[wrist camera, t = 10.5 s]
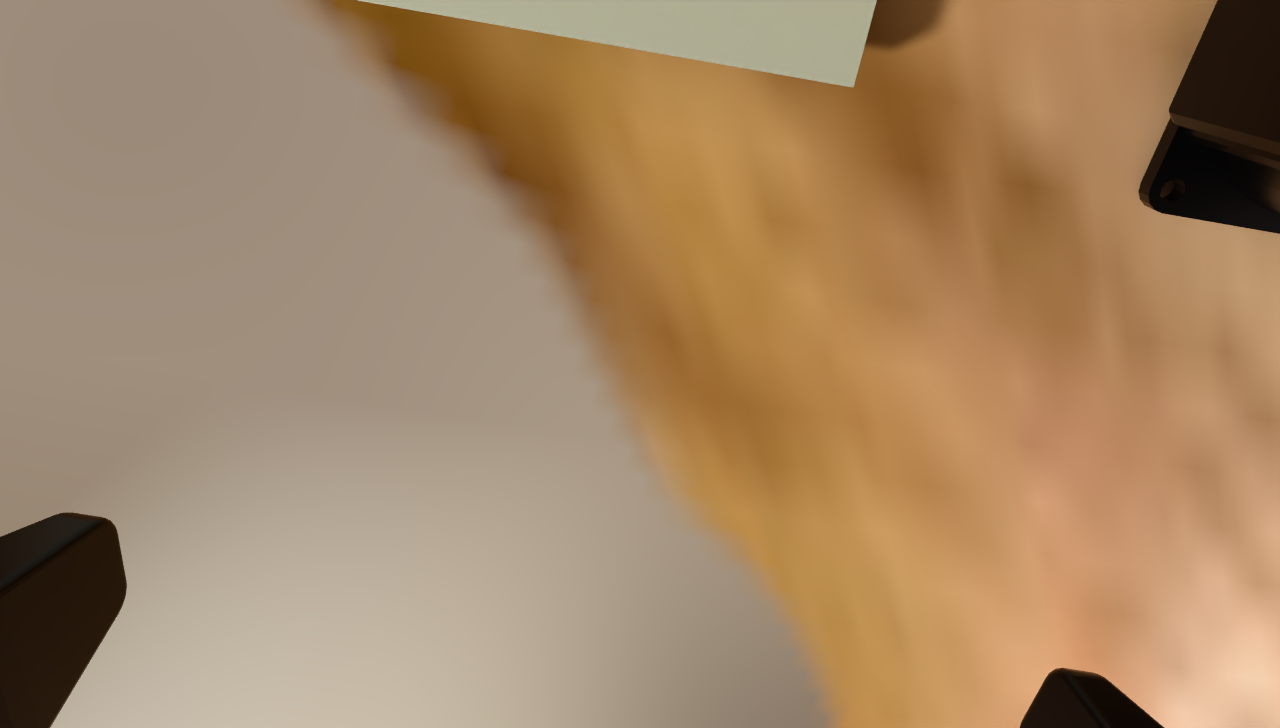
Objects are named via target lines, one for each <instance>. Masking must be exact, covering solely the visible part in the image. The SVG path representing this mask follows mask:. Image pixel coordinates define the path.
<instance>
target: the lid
mask: <svg viewBox="0 0 1280 728" xmlns="http://www.w3.org/2000/svg"><path fill="white" fill-rule="evenodd" d="M358 1H364V2H370V3H375V4H381V5H387V6H392V7H398V8H404V9H409V10H415V11H421V12H426V13H432V14H438V15H444V16H449V17H455V18H461V19H466V20H472V21H478V22H483V23H489V24H495V25H500V26H506V27H512V28H517V29H523V30H529V31H535V32H540V33H546V34H552V35H557V36H563V37H569V38H574V39H580V40H586V41H591V42H597V43H603V44H608V45H614V46H620V47H626V48H631V49H637V50H643V51H648V52H654V53H660V54H665V55H671V56H677V57H682V58H688V59H694V60H699V61H705V62H711V63H717V64H722V65H728V66H734V67H739V68H745V69H751V70H756V71H762V72H768V73H773V74H779V75H785V76H791V77H796V78H802V79H808V80H813V81H819V82H825V83H830V84H836V85H842V86H847V87H854V83H855V80H856V76H857V72H858V69H859V65H860V61H861V57H862V54H863V50H864V46H865V43H866V39H867V35H868V31H869V28H870V24H871V20H872V17H873V13H874V9H875V5H876V2H877V0H358Z"/></svg>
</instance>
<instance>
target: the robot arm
mask: <svg viewBox="0 0 1280 728" xmlns="http://www.w3.org/2000/svg"><path fill="white" fill-rule="evenodd" d="M1169 113H1170V116H1171V117H1170V120H1169V122H1168V124H1167V126H1166V129H1165V131H1164V133H1163V135H1162V137H1161V140H1160V142H1159V144H1158V146H1157V148H1156V151H1155V153H1154V155H1153V157H1152V159H1151V162H1150V164H1149V166H1148V168H1147V170H1146V173H1145V175H1144V177H1143V179H1142V182H1141V184H1140V188H1139V196H1140V200H1141V201H1142V202H1143V203H1144V205H1145V206H1147V207H1149V208H1152V209H1154V210H1156V211H1158V212H1161V213H1164V214H1170V215H1176V216H1181V217H1187V218H1193V219H1199V220H1204V221H1210V222H1216V223H1222V224H1227V225H1233V226H1239V227H1245V228H1250V229H1256V230H1262V231H1268V232H1273V233H1279V234H1280V0H1218V1H1217V3H1216V5H1215V8H1214V10H1213V12H1212V14H1211V17H1210V19H1209V21H1208V23H1207V25H1206V28H1205V30H1204V32H1203V34H1202V37H1201V39H1200V41H1199V43H1198V45H1197V48H1196V50H1195V52H1194V54H1193V57H1192V59H1191V61H1190V63H1189V65H1188V68H1187V70H1186V72H1185V74H1184V77H1183V79H1182V81H1181V83H1180V85H1179V88H1178V90H1177V92H1176V94H1175V97H1174V99H1173V101H1172V103H1171V106H1170V108H1169ZM1171 180H1174V181H1175V185H1174V189H1173V190H1172V192H1171V193H1170V194H1169V195H1167V196H1165V197H1163V198H1161V196H1160V193H1161V189H1162V187H1163V186H1164V185H1165V183H1167V182H1169V181H1171ZM126 588H127V583H126V577H125V571H124V566H123V561H122V555H121V550H120V544H119V539H118V533H117V529H116V527H115V525H114V524H113V523H112V522H111V521H110V520H108V519H106V518H103V517H97V516H91V515H84V514H78V513H60V514H57V515H54V516H51V517H49V518H46V519H44V520H41V521H39V522H36V523H34V524H31V525H29V526H26V527H24V528H21V529H19V530H16V531H14V532H11V533H9V534H7V535H4V536H1V537H0V728H50V727H51V725H52V724H53V722H54V720H55V719H56V717H57V715H58V713H59V712H60V710H61V709H62V707H63V705H64V704H65V702H66V700H67V698H68V697H69V695H70V694H71V692H72V690H73V688H74V687H75V685H76V684H77V682H78V680H79V678H80V677H81V675H82V674H83V672H84V670H85V668H86V667H87V665H88V664H89V662H90V660H91V658H92V657H93V655H94V653H95V652H96V650H97V649H98V647H99V645H100V643H101V642H102V640H103V639H104V637H105V635H106V633H107V632H108V630H109V628H110V627H111V625H112V623H113V622H114V620H115V618H116V617H117V615H118V613H119V611H120V609H121V607H122V605H123V602H124V599H125V596H126ZM1020 728H1164V727H1163V726H1161V725H1160V724H1159V723H1158V722H1157V721H1156V720H1154V719H1153V718H1152V717H1151V716H1150V715H1148V714H1147V713H1146V712H1145V711H1144V710H1143V709H1141V708H1140V707H1139V706H1138V705H1137V704H1135V703H1134V702H1133V701H1132V700H1131V699H1130V698H1128V697H1127V696H1126V695H1125V694H1124V693H1122V692H1121V691H1120V690H1119V689H1118V688H1117V687H1115V686H1114V685H1113V684H1112V683H1111V682H1109V681H1108V680H1107V679H1106V678H1104V677H1102V676H1101V675H1098V674H1095V673H1091V672H1085V671H1079V670H1072V669H1066V668H1058V669H1055V670H1053V671H1052V672H1050V673H1049V674H1048V676H1047V677H1046V679H1045V680H1044V682H1043V684H1042V686H1041V688H1040V689H1039V691H1038V693H1037V695H1036V697H1035V698H1034V700H1033V702H1032V704H1031V706H1030V707H1029V709H1028V711H1027V713H1026V714H1025V716H1024V718H1023V720H1022V722H1021V725H1020Z"/></svg>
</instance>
